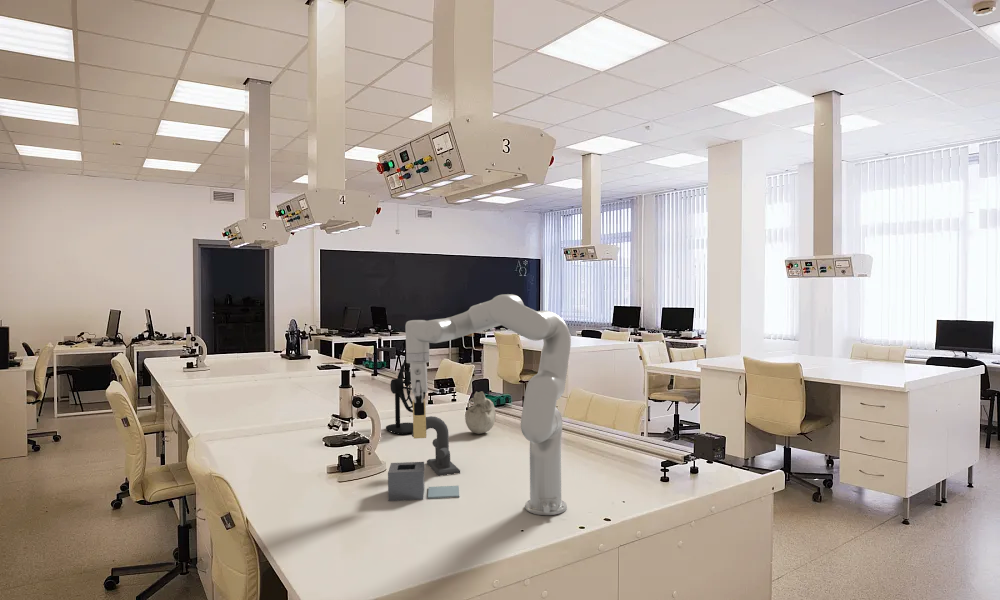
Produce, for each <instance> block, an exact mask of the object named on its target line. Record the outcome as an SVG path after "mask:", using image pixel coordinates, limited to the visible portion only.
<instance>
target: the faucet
mask: <svg viewBox="0 0 1000 600" xmlns="http://www.w3.org/2000/svg"><path fill="white" fill-rule="evenodd" d="M429 429H433V430H434V431H436V432H435V433H436V438H434V439H433V441H432V446H433V447H434V449H435V458H429V459H427V460H426V465H427V466H428V465H429V466H430V467H431V468H430V467H429V466H428V467H429V468H430V469H431V470H432V471H433V472H434V473H435V474H436V476H437V477H441V476H440V475H443V476H448V475H447V474H451V475H455V474H454V473H459V474H461V469H459V468H458V467H457V465H455V464H454V463H453V462H452V461H451V452H450V450H449V449H450V446H449V441H450V440H449V438H450V437H449V428H448V425H447V424H446V423H445V421H444V420H442V418H440V417H438V416H437V417H436V416H431V415H430V416H426V431H427V430H429ZM411 437H412V438H414V433H413V432H412V434H411Z"/></svg>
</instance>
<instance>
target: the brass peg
mask: <svg viewBox="0 0 1000 600" xmlns="http://www.w3.org/2000/svg"><path fill="white" fill-rule="evenodd" d="M412 402H413V408H412V410H413V413H412V423H413V433H414V437H413V439H426V438H427V430H426V417H427V412H426V411H427V410H426V409H427V408H426V406H427V405H426V398H425V399H423V402H424V415H414V403H415V399H412Z"/></svg>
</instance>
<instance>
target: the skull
mask: <svg viewBox="0 0 1000 600" xmlns="http://www.w3.org/2000/svg"><path fill="white" fill-rule="evenodd" d="M471 403H472V406H470V405H471ZM464 419H465V420H464V421H465V424H466V426H467V428H468V430H469V431H470V432H472V433H474V434H477V435H481V434H484V433H487V432H489V431H490V430H491V429H492V428H493V427H494V424H495V419H496V408H495V405H494V402H493V401H492V400H491V399H489V398H486V395H485V392H484V391H479V392H478V391H475V393H474V394H473V397H472V398H470V399H469V401H468V402H467V410H466V411H465V414H464Z"/></svg>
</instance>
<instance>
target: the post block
mask: <svg viewBox="0 0 1000 600" xmlns="http://www.w3.org/2000/svg"><path fill="white" fill-rule="evenodd" d="M424 497H425V461H415V462H414V461H410V462H409V461H408V462H407V461H405V462H390V465H389V469H388V472H387V499H388V501H387V502H394V501H396V502H397V501H417V500H419V501H422V500H424Z"/></svg>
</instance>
